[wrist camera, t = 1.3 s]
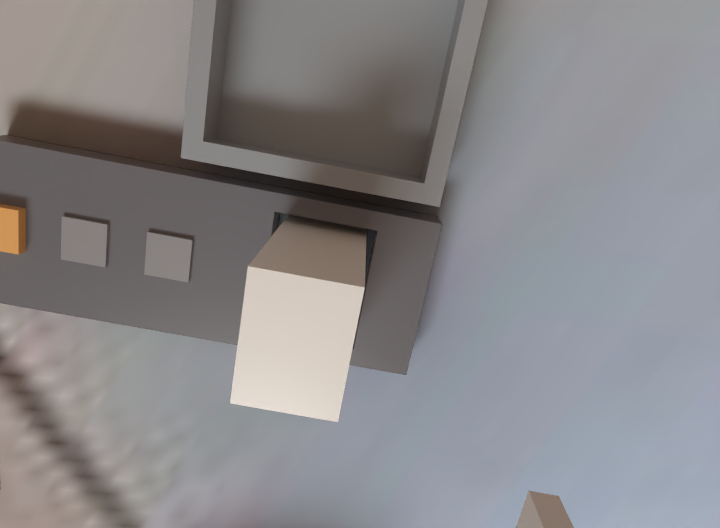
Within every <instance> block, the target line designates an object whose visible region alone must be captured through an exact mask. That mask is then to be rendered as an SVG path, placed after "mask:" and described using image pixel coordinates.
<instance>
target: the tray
mask: <svg viewBox="0 0 720 528" xmlns="http://www.w3.org/2000/svg"><path fill="white" fill-rule="evenodd" d="M487 3H488V0H194V6H193V18H192V30H191V42H190V53H189V65H188V77H187V89H186V101H185V113H184V124H183V136H182V148H181V158H183V159H189V160H194V161H199V162H204V163H210V164H215V165H220V166H226V167H231V168H236V169H241V170H247V171H252V172H257V173H262V174H268V175H273V176H278V177H284V178H289V179H294V180H299V181H305V182H310V183H315V184H320V185H326V186H331V187H336V188H342V189H347V190H352V191H357V192H363V193H368V194H373V195H378V196H384V197H389V198H394V199H400V200H405V201H410V202H415V203H421V204H426V205H431V206H436V207H440V204H441V199H442V195H443V191H444V187H445V182H446V178H447V174H448V169H449V165H450V161H451V157H452V152H453V148H454V144H455V140H456V135H457V131H458V127H459V123H460V118H461V114H462V110H463V105H464V101H465V97H466V93H467V88H468V84H469V80H470V76H471V71H472V67H473V63H474V59H475V54H476V50H477V46H478V42H479V37H480V33H481V29H482V24H483V20H484V16H485V12H486V7H487Z"/></svg>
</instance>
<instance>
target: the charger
mask: <svg viewBox="0 0 720 528" xmlns="http://www.w3.org/2000/svg"><path fill="white" fill-rule="evenodd" d="M366 236H367V230H366V229H360V228H355V227H350V226H344V225H339V224H334V223H328V222H323V221H318V220H312V219H307V218H302V217H296V216H291V215H288V216H287V218H286V219H285V220H284V221H283V223H282V224H281V225H280V226H279V228H278V229H277V230H276V231H275V233H274V234H273V235H272V236H271V238H270V239H269V240H268V241H267V243H266V244H265V245H264V246H263V248H262V249H261V250H260V251H259V253H258V254H257V255H256V257H255V258H254V259H253V260H252V262H251V263H250V264H249V265H248V269H247V277H246V284H245V292H244V300H243V308H242V315H241V323H240V331H239V338H238V346H237V354H236V362H235V369H234V377H233V385H232V392H231V400H230V403H232V404H237V405H243V406H249V407H254V408H260V409H266V410H272V411H277V412H283V413H289V414H295V415H300V416H306V417H312V418H318V419H323V420H329V421H335V422H338V418H339V413H340V408H341V403H342V399H343V394H344V389H345V384H346V379H347V374H348V369H349V364H350V359H351V354H352V349H353V344H354V339H355V334H356V329H357V324H358V319H359V314H360V309H361V304H362V299H363V294H364V289H365V266H366Z"/></svg>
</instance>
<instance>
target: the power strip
mask: <svg viewBox="0 0 720 528" xmlns="http://www.w3.org/2000/svg"><path fill="white" fill-rule="evenodd" d="M280 213H284V214H290V215H295V216H301V217H306V218H311V219H317V220H322V221H327V222H333V223H338V224H343V225H349V226H354V227H359V228H365V229H370V230H375V236H374V241H373V246H372V251H371V256H370V261H369V266H368V271H367V276H366V281H365V289H364V294H363V299H362V304H361V309H360V314H359V319H358V324H357V329H356V334H355V339H354V344H353V349H352V354H351V359H350V364H349V365H352V366H358V367H364V368H369V369H375V370H381V371H386V372H392V373H397V374H403V375H406V374H407V370H408V365H409V361H410V357H411V353H412V349H413V344H414V340H415V336H416V332H417V328H418V323H419V319H420V315H421V311H422V307H423V302H424V298H425V294H426V290H427V286H428V281H429V277H430V273H431V269H432V265H433V260H434V256H435V252H436V248H437V244H438V239H439V235H440V231H441V227H442V223H441V221H440V220H439V218H438V217H437V216H432V215H427V214H422V213H416V212H411V211H406V210H400V209H395V208H390V207H384V206H379V205H374V204H369V203H363V202H358V201H353V200H347V199H342V198H337V197H332V196H326V195H321V194H316V193H310V192H305V191H300V190H294V189H289V188H284V187H279V186H273V185H268V184H263V183H257V182H252V181H247V180H242V179H236V178H231V177H226V176H220V175H215V174H210V173H204V172H199V171H194V170H189V169H183V168H178V167H173V166H167V165H162V164H157V163H152V162H146V161H141V160H136V159H130V158H125V157H120V156H115V155H109V154H104V153H99V152H93V151H88V150H83V149H77V148H72V147H67V146H62V145H56V144H51V143H46V142H40V141H35V140H30V139H25V138H19V137H14V136H9V135H2V136H0V303H3V304H9V305H14V306H20V307H25V308H31V309H37V310H42V311H48V312H54V313H59V314H65V315H71V316H76V317H82V318H87V319H93V320H99V321H104V322H110V323H116V324H121V325H127V326H133V327H138V328H144V329H149V330H155V331H161V332H166V333H172V334H178V335H183V336H189V337H195V338H200V339H206V340H211V341H217V342H223V343H228V344H234V345H238V338H239V331H240V323H241V315H242V308H243V300H244V292H245V284H246V277H247V269H248V265H249V264H250V263H251V262H252V260H253V259H254V258H255V257H256V255H257V254H258V253H259V251H260V250H261V249H262V248H263V246H264V245H265V244H266V243H267V241H268V240H269V239H270V238H271V236H272V235H273V234H274V233H275V231H276V230H277V228H278V221H279V214H280Z"/></svg>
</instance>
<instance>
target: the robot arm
mask: <svg viewBox="0 0 720 528" xmlns="http://www.w3.org/2000/svg"><path fill="white" fill-rule="evenodd" d="M0 490H1V482H0ZM516 528H574V527H573V525H572V523H571V521H570V519H569V517H568V515H567V513H566V510H565V508H564V506H563V504H562V502H561V500H560V498H559V496H555V495H550V494H544V493H539V492H533V491H528V494H527V497H526V500H525V503H524V506H523V509H522V512H521V514H520V517H519V520H518V523H517V526H516Z"/></svg>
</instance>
